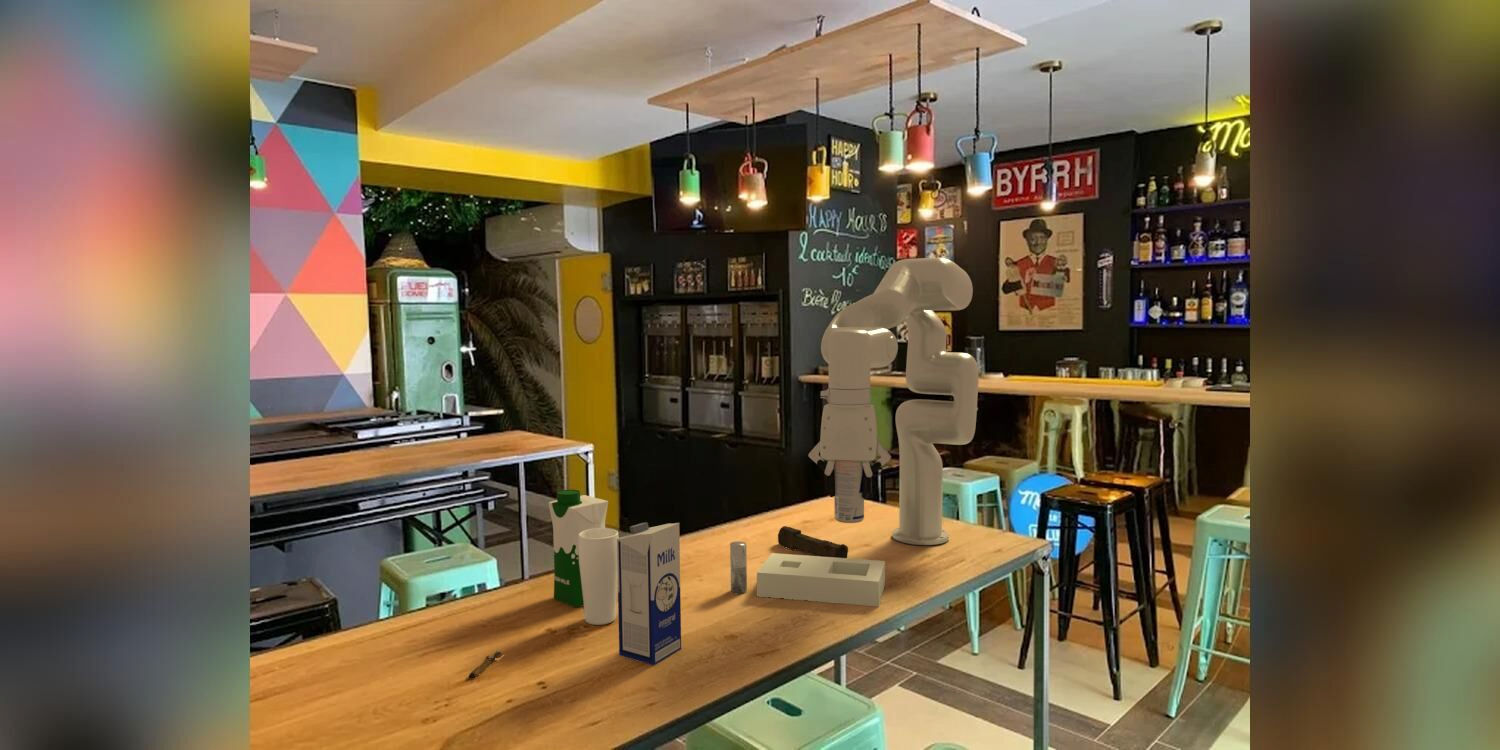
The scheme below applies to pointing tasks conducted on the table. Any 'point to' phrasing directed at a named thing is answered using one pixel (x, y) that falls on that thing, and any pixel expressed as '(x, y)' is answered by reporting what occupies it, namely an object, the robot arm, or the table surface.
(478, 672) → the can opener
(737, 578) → the grey metal peg
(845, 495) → the energy drink
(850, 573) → the socket block
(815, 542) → the hand tool
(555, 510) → the soya milk
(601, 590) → the drinking glass
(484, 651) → the table surface
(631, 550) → the milk carton
